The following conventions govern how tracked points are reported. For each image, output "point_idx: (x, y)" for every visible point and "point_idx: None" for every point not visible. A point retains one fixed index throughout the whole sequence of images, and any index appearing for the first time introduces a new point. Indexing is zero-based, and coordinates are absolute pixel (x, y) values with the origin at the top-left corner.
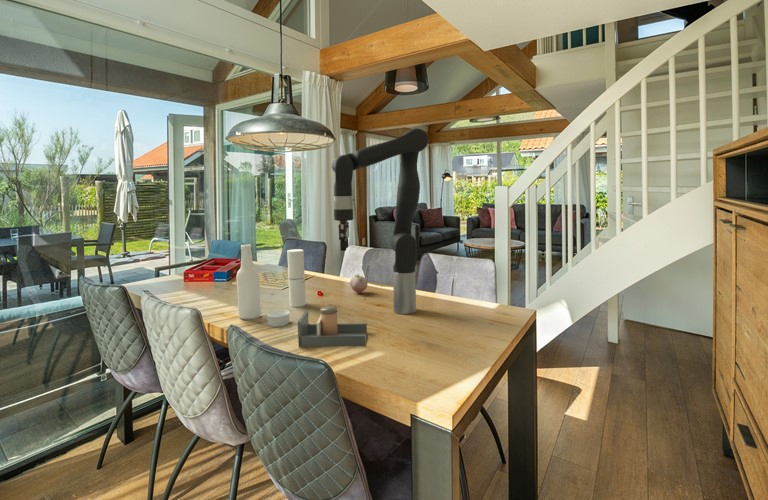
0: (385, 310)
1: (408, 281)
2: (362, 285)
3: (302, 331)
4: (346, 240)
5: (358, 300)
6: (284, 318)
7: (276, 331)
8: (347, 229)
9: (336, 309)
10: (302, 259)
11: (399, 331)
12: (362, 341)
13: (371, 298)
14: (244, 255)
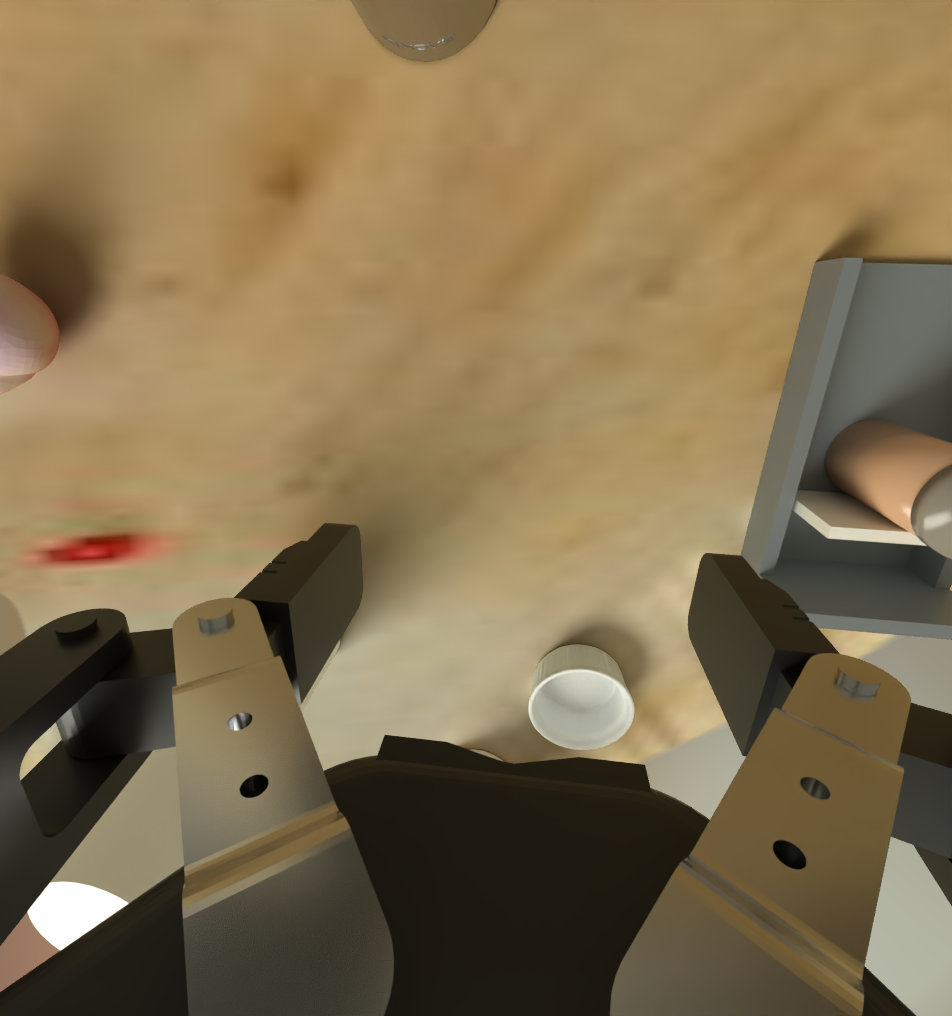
0: (405, 131)
1: None
2: (23, 302)
3: (927, 594)
4: (308, 611)
5: (197, 328)
6: (616, 674)
7: (682, 674)
8: (868, 940)
9: None
10: (159, 814)
11: (862, 28)
12: None
13: (140, 239)
14: None
